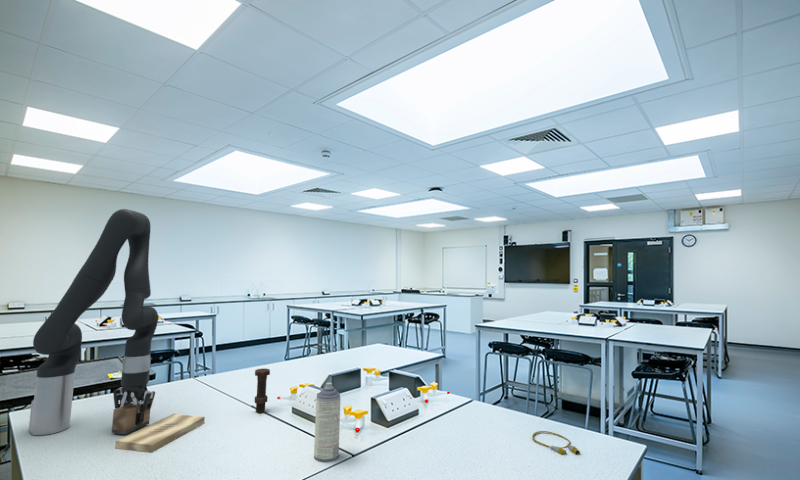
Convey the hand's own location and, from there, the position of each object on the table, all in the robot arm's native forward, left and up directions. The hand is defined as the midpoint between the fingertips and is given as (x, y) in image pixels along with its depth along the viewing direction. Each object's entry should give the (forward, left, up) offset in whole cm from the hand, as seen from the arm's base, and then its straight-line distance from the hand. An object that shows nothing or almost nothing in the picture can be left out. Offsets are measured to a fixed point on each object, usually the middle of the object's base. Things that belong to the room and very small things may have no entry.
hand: (131, 423), depth 124 cm
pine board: (+13, -1, -2) cm, 13 cm away
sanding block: (0, 0, -1) cm, 1 cm away
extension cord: (+133, +21, -3) cm, 134 cm away
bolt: (+31, +24, -2) cm, 39 cm away
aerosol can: (+67, -3, -2) cm, 67 cm away
